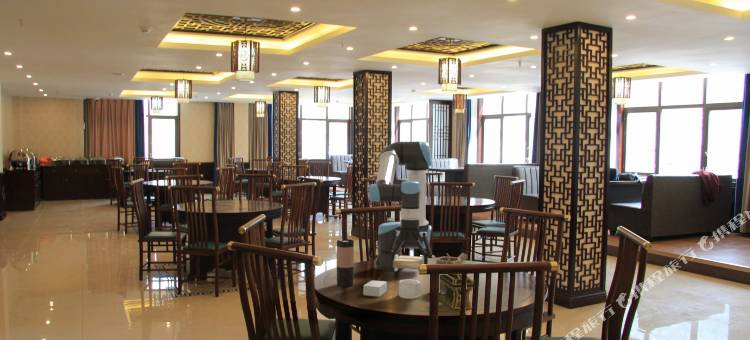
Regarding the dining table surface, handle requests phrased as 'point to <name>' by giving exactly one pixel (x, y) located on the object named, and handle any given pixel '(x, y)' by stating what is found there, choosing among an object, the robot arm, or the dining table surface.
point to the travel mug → (345, 263)
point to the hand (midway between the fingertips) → (409, 271)
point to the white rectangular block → (375, 288)
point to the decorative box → (455, 288)
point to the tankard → (453, 259)
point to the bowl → (409, 289)
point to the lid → (407, 262)
